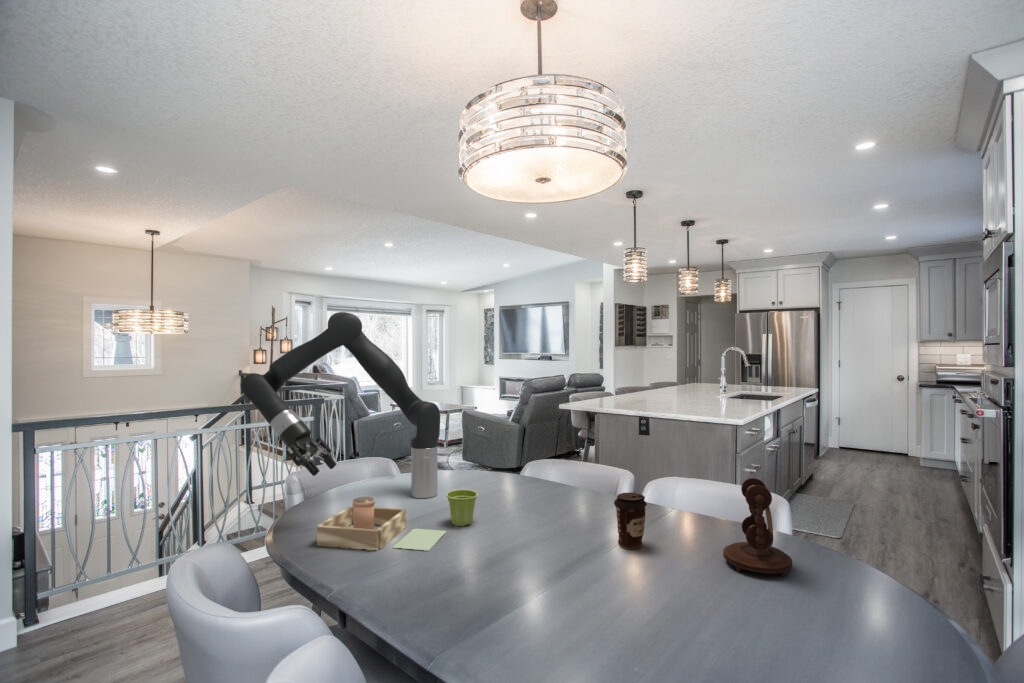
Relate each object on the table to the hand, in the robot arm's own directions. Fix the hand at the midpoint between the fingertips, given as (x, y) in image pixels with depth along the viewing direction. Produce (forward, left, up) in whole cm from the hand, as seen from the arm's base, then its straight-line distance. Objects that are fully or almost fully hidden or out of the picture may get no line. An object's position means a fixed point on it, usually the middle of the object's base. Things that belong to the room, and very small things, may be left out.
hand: (325, 470), depth 145 cm
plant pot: (-15, +36, -18) cm, 43 cm away
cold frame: (0, +12, -18) cm, 21 cm away
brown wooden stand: (0, +114, -18) cm, 115 cm away
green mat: (0, +29, -18) cm, 34 cm away
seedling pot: (0, +12, -18) cm, 21 cm away
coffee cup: (-7, +85, -18) cm, 87 cm away
